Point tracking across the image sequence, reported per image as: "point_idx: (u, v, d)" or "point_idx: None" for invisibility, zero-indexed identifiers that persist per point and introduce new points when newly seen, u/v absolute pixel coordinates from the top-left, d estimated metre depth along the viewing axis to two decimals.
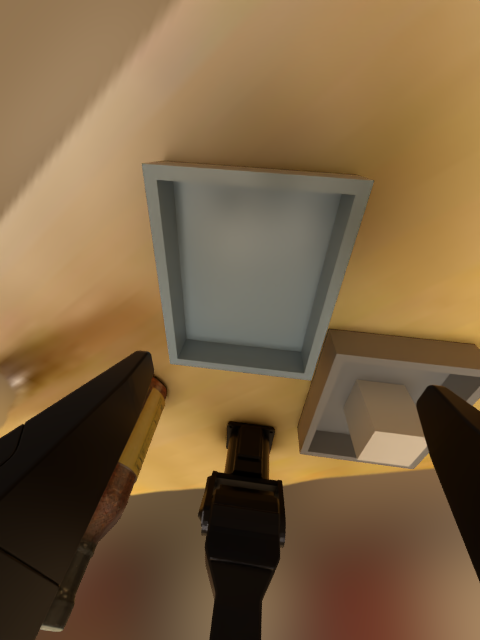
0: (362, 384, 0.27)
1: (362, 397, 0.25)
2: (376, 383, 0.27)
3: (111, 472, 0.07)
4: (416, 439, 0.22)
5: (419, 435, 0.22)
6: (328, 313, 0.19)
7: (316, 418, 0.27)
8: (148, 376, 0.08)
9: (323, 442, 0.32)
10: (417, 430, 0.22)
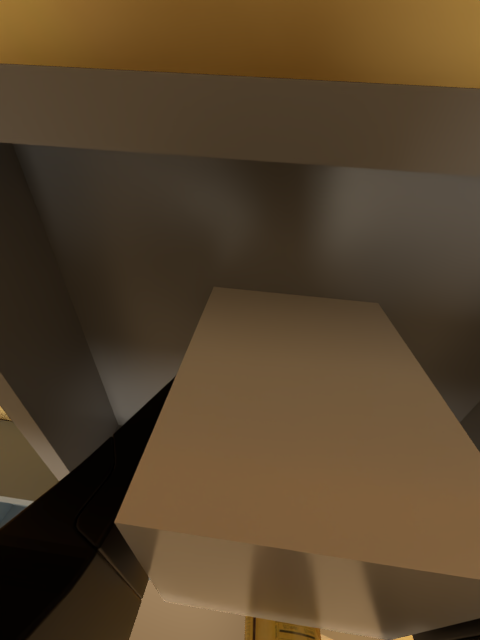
0: None
1: None
2: None
3: None
4: (165, 559, 0.04)
5: (135, 543, 0.04)
6: (3, 497, 0.12)
7: None
8: None
9: None
10: None
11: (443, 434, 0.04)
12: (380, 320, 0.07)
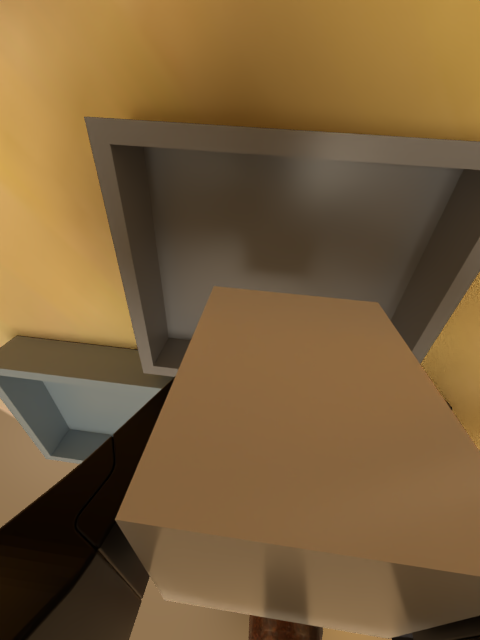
0: None
1: None
2: None
3: None
4: (165, 556, 0.04)
5: (136, 542, 0.04)
6: (94, 382, 0.18)
7: None
8: None
9: None
10: None
11: (443, 432, 0.04)
12: (380, 319, 0.07)
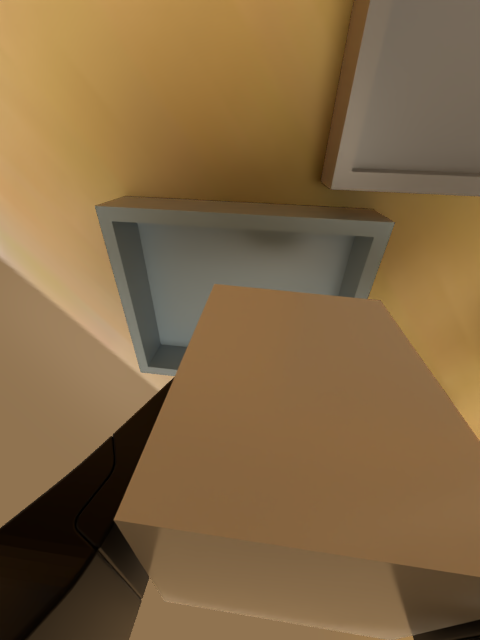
0: None
1: None
2: None
3: None
4: (165, 557, 0.04)
5: (136, 542, 0.04)
6: (251, 219, 0.14)
7: None
8: None
9: None
10: None
11: (448, 431, 0.04)
12: (383, 317, 0.07)
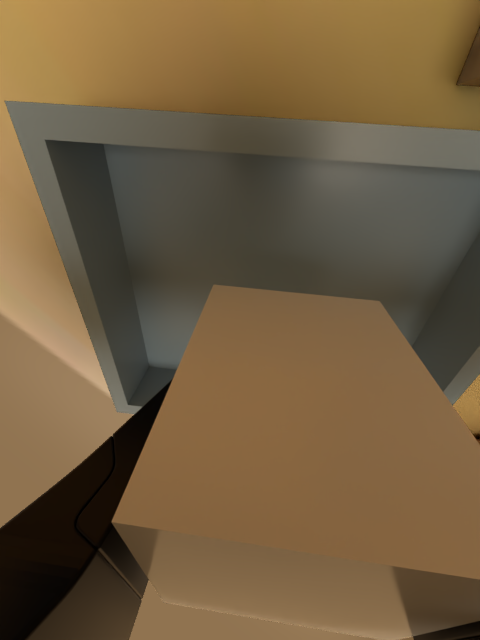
0: None
1: None
2: None
3: None
4: (164, 559, 0.04)
5: (133, 544, 0.04)
6: (345, 134, 0.06)
7: None
8: None
9: None
10: None
11: (447, 432, 0.04)
12: (381, 318, 0.07)
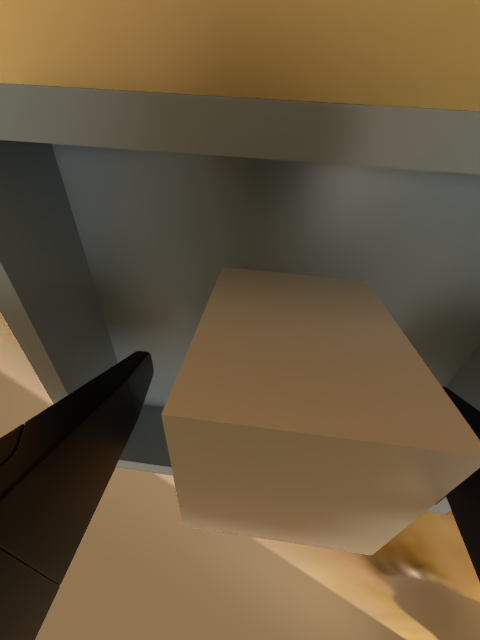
0: None
1: None
2: None
3: (112, 472, 0.07)
4: (193, 458, 0.05)
5: (170, 448, 0.05)
6: (393, 126, 0.04)
7: None
8: (148, 376, 0.08)
9: None
10: None
11: (410, 369, 0.05)
12: (367, 293, 0.08)
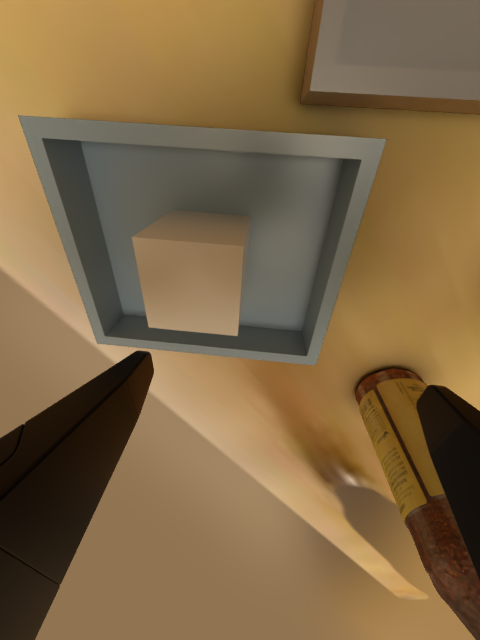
0: None
1: None
2: None
3: (111, 472, 0.07)
4: (146, 264, 0.12)
5: (137, 261, 0.12)
6: (213, 134, 0.11)
7: None
8: (148, 376, 0.08)
9: None
10: None
11: (238, 234, 0.12)
12: (245, 219, 0.15)
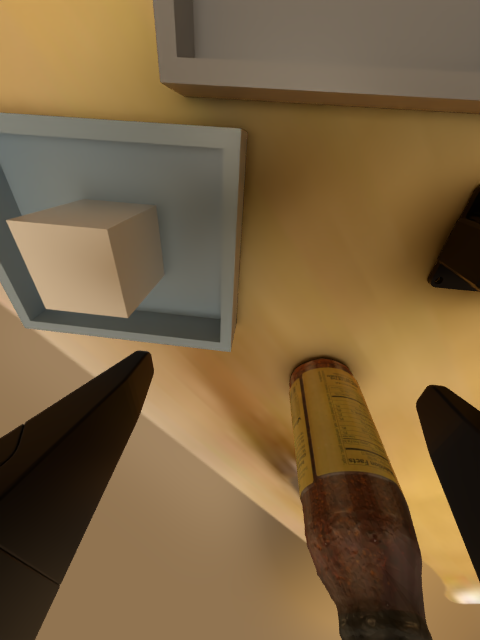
0: None
1: None
2: None
3: (111, 471, 0.07)
4: (26, 247, 0.13)
5: (18, 244, 0.13)
6: (84, 124, 0.12)
7: (382, 82, 0.10)
8: (148, 376, 0.08)
9: None
10: None
11: (117, 220, 0.13)
12: (146, 207, 0.16)
